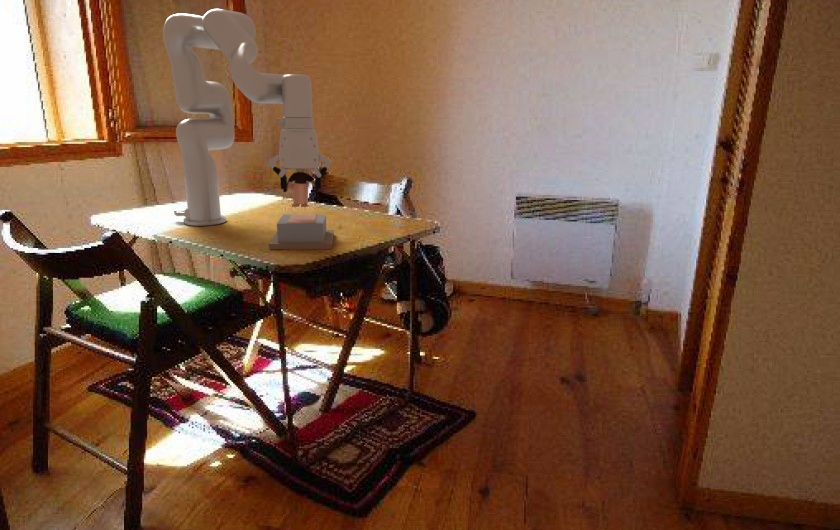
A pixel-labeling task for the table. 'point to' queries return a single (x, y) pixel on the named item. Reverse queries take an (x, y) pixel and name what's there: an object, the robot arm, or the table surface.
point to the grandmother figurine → (300, 187)
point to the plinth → (303, 244)
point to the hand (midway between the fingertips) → (301, 191)
